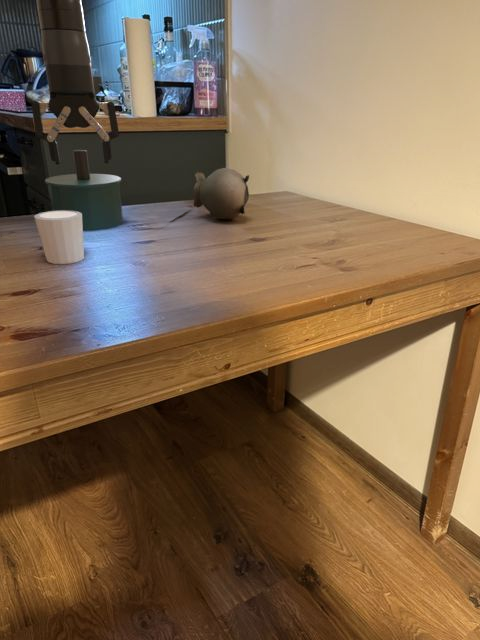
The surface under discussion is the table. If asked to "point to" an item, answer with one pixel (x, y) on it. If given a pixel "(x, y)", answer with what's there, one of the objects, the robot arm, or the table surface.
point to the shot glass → (61, 236)
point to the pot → (90, 205)
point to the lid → (82, 175)
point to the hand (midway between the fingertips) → (82, 163)
